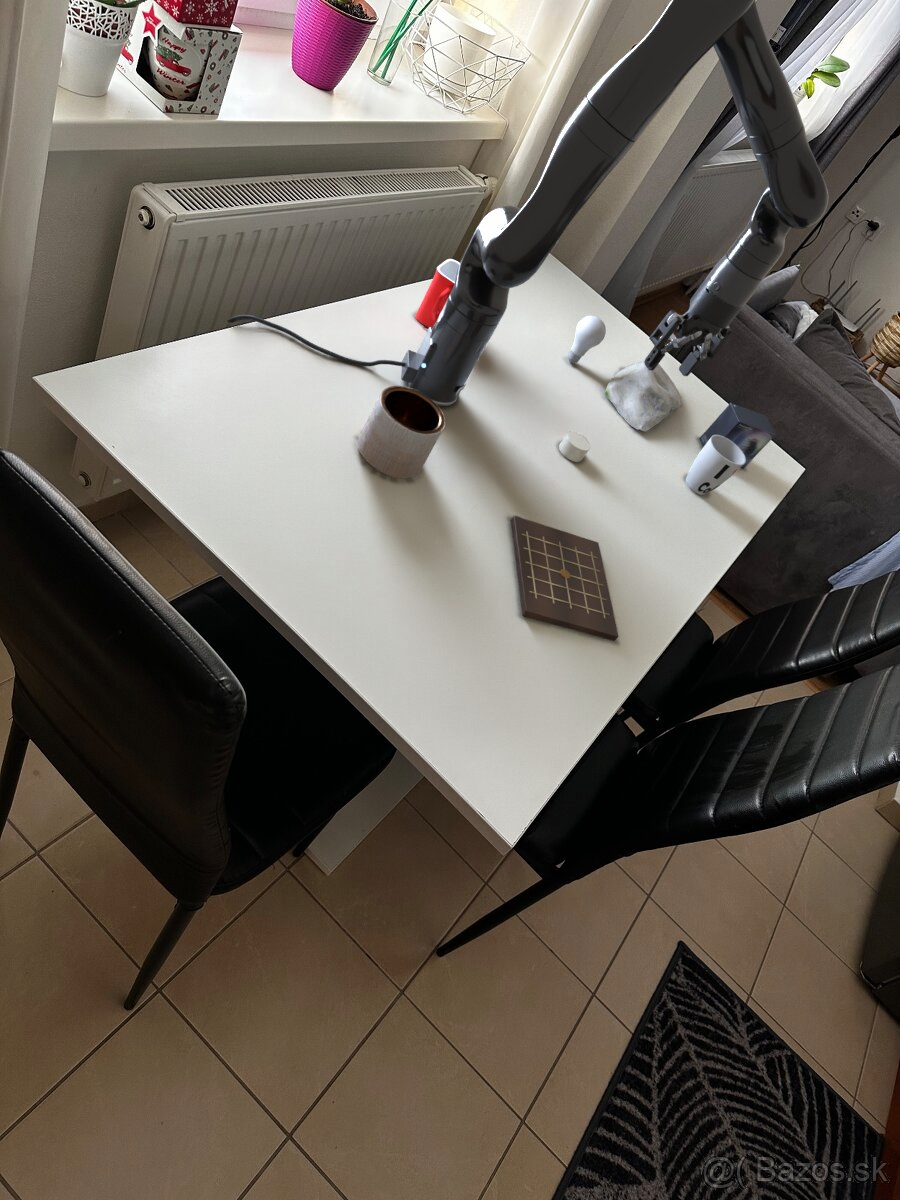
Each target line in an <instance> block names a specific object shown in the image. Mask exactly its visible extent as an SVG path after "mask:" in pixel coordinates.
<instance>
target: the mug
mask: <svg viewBox="0 0 900 1200" xmlns="http://www.w3.org/2000/svg"><path fill="white" fill-rule="evenodd" d="M460 263H461V262H459V261H457V260H455V259H452V258H448V259H446V260H445V261H443V262H442V263H440V264H439V265H438V266H437V267H436V271H435V274H434V276H433V278H432V280H431V282H430V284H429V286H428V288H427V290H426V292H425V295H424V297H423V298H422V300H421V303H420V305H419V307H418V309H417V311H416V314H415V319H416V320H417V321H418V322H419V323H421V325H424V326H425V327H426V328H427V329H429V327H434V325H435V323H436V321H437V319H438V317H439V315H440V313H441V311H442V309H443V307H444V305H445V303H446V301H447V299H448V297H449V295H450V293H451V291H452V289H453V286H454V284H455V279H456V274H457V271H458V268H459V265H460Z"/></svg>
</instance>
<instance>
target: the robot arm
mask: <svg viewBox="0 0 900 1200" xmlns="http://www.w3.org/2000/svg"><path fill="white" fill-rule="evenodd" d="M712 48H713V49H714V52H715V53H716V56H717V57H718V60H719V62H720V65H721V67H722V70H723V73H724V76H725V78H726V81H727V83H728V87H729V89H730V92H731V95H732V99H733V101H734V104H735V108H736V110H737V113H738V116H739V118H740V121H741V125H742V127H743V130H744V133H745V135H746V138H747V140H748V143H749V145H750V148H751V150H752V153H753V156H754V158H755V159H756V161H757V163H758V165H759V167H760V168H761V170H762V172H763V174H764V177H765V180H766V182H767V186H766V188H765V189H764V191H763V192H762V194H761V196H760V198H759V200H758V202H757V204H756V206H755V208H754V209H753V211H752V213H751V216H750V218H749V220H748V222H747V224H746V226H745V227H744V229H743V231H742V232H740V234H739V235H738V236H737V238H736V239H735V240H734V242H733V244H732V245H731V246H730V248H729V249H728V250H727V252H726V253H725V254H724V255H723V256H722V258H721V259H719V260H718V262H717V263H716V264H715V265H714V266H713V268H712V269H711V270H710V272H709V273H708V275H707V276H706V277H705V278H704V279H703V281H702V283H701V284H700V285H699V287H698V288H697V290H696V291H695V293H694V294H693V295H692V296H691V297H690V299H689V308H688V310H687V311H685V313H684V314H678V312H676V310H675V309H671V310H670V311H669V312H667V314H666V315H665V316H664V317H663V319H662V320H661V322H660V323H659V324H658V325H657V327H656V328H655V329H654V331H653V332H652V333H651V334H650V336H649V340H650V342H651V343H652V344H653V348H652V349H651V350H650V352H649V353H648V355H647V356H646V357H645V358H644V361H645V362H644V364H645V366H646V367H647V368H648V370H651V371H653V370H654V369H655V368H656V366H657V365H658V364H659V365H660V363H661V361H662V360H663V359H664V357H665V356H666V354H667V353H668V352H669V351H671V350H672V349H674V348H676V349H678V348H680V347H682V346H684V345H686V346H688V345H691V346H692V347H693V348H692V350H693V351H691V352H690V353H689V354H688V355H687V356H686V357H685V359H684V360H683V361H682V363H681V364H680V365H679V367H678V370H679V373H681V375H682V376H683V377H688V376H690V374H692V373H693V371H694V370H695V369H696V368H697V366H698V365H699V364H700V362H702V361H705V360H706V359H710V360H713V359H714V358H716V356H717V355H718V354H719V352H720V351H721V350H722V348H723V347H724V345H725V344H726V342H728V340H729V339H730V338H731V336H732V334H733V333H734V330H732V328H731V327H730V324H731V323H732V322H733V321H734V319H735V318H736V317H737V316H738V314H739V313H740V312H741V311H742V309H743V308H744V307H745V305H746V304H747V303H748V302H749V300H750V299H751V298H752V296H753V295H754V294H755V293H756V291H757V289H758V288H759V286H760V285H761V283H762V281H763V280H764V279H765V277H766V276H767V274H769V272H770V271H771V270H772V269H773V267H774V266H775V265H776V264H777V262H778V261H779V259H780V258H781V257H782V255H783V253H784V251H785V244H786V237H787V235H788V233H789V232H790V230H791V228H792V229H796V230H804V229H808V228H810V227H812V226H814V225H815V224H816V223H818V222H819V221H820V220H821V219H822V217H823V216H824V215H825V212H826V211H827V208H828V204H829V191H828V190H829V189H828V187H827V184H826V181H825V179H824V176H823V174H822V172H821V169H820V167H819V164H818V162H817V160H816V158H815V156H814V154H813V151H812V149H811V147H810V144H809V140H808V138H807V137H808V136H807V132H806V129H805V125H804V122H803V119H802V116H801V113H800V110H799V108H798V104H797V102H796V98H795V96H794V94H793V91H792V88H791V86H790V84H789V81H788V80H787V77H786V75H785V74H784V73H785V72H784V71H783V69H782V67H781V64H780V63H779V61H778V59H777V56H776V54H775V52H774V51H773V48H772V46H771V44H770V42H769V39H768V36H767V34H766V31H765V29H764V26H763V22H762V19H761V16H760V12H759V10H758V5H757V1H756V0H670V1H669V4H668V5H667V6H666V8H665V10H663V12H662V14H661V15H660V16H659V18H658V19H657V21H656V22H655V24H653V26H652V27H651V29H650V30H649V31H648V32H647V34H645V36H644V37H643V38H642V39H641V40H640V41H639V42H638V43H637V44H636V45H635V46H634V47H633V48H631V49H630V50H629V51H628V52H627V53H625V55H623V56H622V57H621V58H620V59H619V60H618V61H616V62H615V63H614V64H613V65H612V66H611V67H610V68H609V69H608V70H606V72H604V74H602V76H600V77H599V79H597V80H596V82H595V83H594V84H593V85H592V86H591V87H590V89H589V90H588V91H587V92H586V94H585V95H584V97H583V98H582V100H580V102H579V103H578V105H577V106H576V108H575V109H574V110H573V112H572V113H571V114H570V116H568V118H567V120H566V121H565V123H564V124H563V126H562V128H561V130H560V132H559V134H558V136H557V138H556V141H555V143H554V145H553V147H552V149H551V152H550V154H549V156H548V159H547V161H546V164H545V167H544V168H543V169H544V170H543V172H542V174H541V176H540V179H539V181H538V183H537V185H536V187H535V189H534V191H533V192H532V193H531V195H530V196H529V198H528V199H527V201H526V203H525V204H524V205H523V206H522V207H521V208H520V207H518V206H516V205H509V204H508V205H500V206H498V207H496V208H493V209H492V210H490V211H489V212H487V214H486V215H485V216H483V218H482V219H481V221H480V222H479V223H478V225H477V227H476V228H475V231H474V233H473V235H472V236H471V239H470V241H469V243H468V245H467V247H466V249H465V252H464V255H463V257H462V259H461V261H460V262H459V263H460V265H459V268H458V271H457V274H456V279H455V284H454V286H453V289H452V291H451V293H450V295H449V297H448V299H447V301H446V303H445V305H444V307H443V309H442V311H441V313H440V315H439V317H438V319H437V321H436V323H435V325H434V327H429V328H427V331H426V333H425V335H424V337H423V339H422V341H421V343H420V345H419V347H418V349H417V351H416V352H415V351H413V350H411V349H407V350H406V352H405V355H404V357H403V359H402V360H401V361H399V360H398V361H397V360H390V359H378V360H374V361H361V360H357V359H352V358H348V357H346V356H344V355H340V354H338V353H336V352H333V351H330V350H328V349H326V348H324V347H321V346H319V345H317V344H315V343H313V342H311V341H309V340H307V339H306V338H304V337H302V336H301V335H299V334H297V333H295V332H294V331H292V330H290V329H288V328H286V327H284V326H282V325H278V324H276V323H274V322H271V321H268V320H266V319H263V318H261V317H258V316H254V315H251V314H241V315H240V314H239V315H235V316H232V317H230V318H228V319H227V320H226V321H227V322H228V323H230V324H231V323H235V322H239V321H253V322H257V323H259V324H261V325H264V326H266V327H270V328H272V329H275V330H277V331H280V332H283V333H284V334H287V335H289V336H290V337H292V338H294V339H296V340H297V341H299V342H301V343H302V344H304V345H306V346H308V347H309V348H311V349H313V350H316V351H317V352H320V353H323V354H325V355H327V356H330V357H332V358H334V359H337V360H339V361H342V362H345V363H348V364H351V365H355V366H360V367H361V366H362V367H375V366H379V365H390V366H398V367H401V381H404V382H407V387H409V388H412V389H415V390H417V391H419V392H421V393H423V394H424V395H426V396H427V397H429V398H430V399H431V400H433V401H434V402H435V403H436V404H437V405H438V407H450V406H452V405H454V404H455V403H456V401H457V400H458V398H459V396H460V393H461V391H463V390H464V389H465V387H466V385H467V383H466V382H467V380H468V379H469V377H470V375H471V373H472V372H473V370H474V368H475V367H476V365H477V364H478V361H479V359H480V357H481V356H482V355H483V353H484V350H485V349H486V347H487V345H488V343H489V342H490V340H491V338H492V336H493V335H494V332H495V331H496V329H497V328H498V326H499V324H500V322H501V320H502V319H503V317H504V315H505V313H506V311H507V309H508V299H509V294H510V289H513V288H516V287H517V288H518V287H519V286H521V285H523V284H525V283H526V282H528V281H529V280H530V279H532V277H533V276H534V275H535V274H536V273H537V272H538V271H539V270H540V268H541V266H542V265H543V263H544V262H545V261H546V259H547V257H548V256H549V254H550V253H551V251H552V250H553V249H554V247H555V245H556V244H557V243H558V242H559V239H560V238H561V237H562V235H563V233H564V232H565V231H566V229H567V228H568V226H569V225H570V224H571V222H572V221H573V219H574V218H575V217H576V215H577V214H578V213H579V211H581V209H582V208H583V207H584V206H585V204H586V203H587V202H588V201H589V199H590V198H591V197H593V194H594V193H595V192H596V191H597V189H598V188H599V187H600V185H602V183H603V182H604V180H605V179H606V178H607V177H608V176H609V174H610V173H611V172H612V171H613V170H614V169H615V167H617V166H618V164H619V163H620V162H621V161H622V160H623V158H624V157H625V156H626V155H627V154H628V152H629V151H630V150H631V149H632V147H633V146H634V145H635V144H636V142H637V141H638V140H639V139H640V137H641V136H642V134H643V133H644V132H645V130H646V129H647V128H648V126H649V125H650V124H651V122H652V121H653V120H654V119H655V117H656V116H657V115H658V113H659V112H660V111H661V110H662V108H663V107H664V106H665V105H666V103H667V102H668V100H669V99H671V97H672V96H673V94H674V92H675V91H676V90H677V88H678V87H679V85H680V84H681V83H682V82H683V80H684V79H685V77H686V76H687V75H688V74H689V73H690V72H691V71H692V70H693V68H694V67H695V66H696V65H697V64H698V63H699V62H700V61H701V60H702V59H703V57H704V56H705V55H706V54H707V53H708V52H709V51H710V50H711V49H712ZM676 333H677V336H676V335H675V334H676ZM661 334H662V335H661ZM660 335H661V336H660ZM659 336H660V337H659ZM677 337H678V338H677ZM668 341H669V342H668ZM666 342H668V343H666ZM713 345H714V346H713ZM712 347H713V348H712Z"/></svg>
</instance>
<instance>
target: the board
mask: <svg viewBox="0 0 900 1200" xmlns="http://www.w3.org/2000/svg"><path fill="white" fill-rule="evenodd" d="M510 527H511V534H512V542H513V551H514V558H515V567H516V575H517V582H518V590H519V599H520V606H521V614H522V616H523V617H526V618H528V619H529V618H530V619H533V620H537V621H539V622H540V621H541V622H544V623H547V624H552V625H555V626H558V627H562V628H565V629H568V630H569V629H570V630H572V631H577V632H580V633H584V634H587V635H591V636H595V637H597V638H602V639H606V640H609V641H612V642H615V641H616V640H617V639H619V633H618V632H619V631H618V627H617V623H616V617H615V613H614V609H613V603H612V599H611V594H610V590H609V585H608V580H607V575H606V571H605V566H604V561H603V558H602V552H601V548H600V543H599V542H598V541H595V540H592V539H589V538H586V537H583V536H579V535H577V534H573V533H570V532H567V531H564V530H561V529H557V528H555V527H552V526H549V525H546V524H542V523H539V522H536V521H534V520H530V519H527V518H524V517H521V516H517V515H513V516H512V517H511V519H510Z"/></svg>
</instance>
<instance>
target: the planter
mask: <svg viewBox="0 0 900 1200" xmlns="http://www.w3.org/2000/svg"><path fill="white" fill-rule="evenodd" d="M445 427H446V418H445V415H444V412H443V411H442V409H441V408H440V406H438V405H437V404H436V403H435V402H434V401H433V400H431V399H430V398H429V397H427V396H426V395H424V394H423V393H421V392H419V391H417V390H415V389H412V388H409V387H408V386H405V385H391V386H387V387H385V388H384V389H383V390H381V392H380V394H379V396H378V398H377V400H376V402H375V404H374V406H373V408H372V410H371V412H370V414H369V416H368V418H367V420H366V421H365V423H364V426H363V427H362V429H361V432H360V434H359V436H358V441H357V447H358V450H359V452H360V455H361V456H362V458H363V459H364V460H365V461H366V463H368V464H369V466H371V468H374V469H375V470H377V471H378V472H380V473H382V474H383V475H387V476H389V477H393V478H397V479H408V478H409V479H410V478H413V477H415V476H416V475H417V474H419V473H420V472H421V470H422V469H423V467H424V465H425V464H426V462H427V460H428V458H429V457H430V454H431V452H432V451H433V449H434V447H435V446H436V444H437V442H438V440H439V438H440V436H441V434H442V432H443V431H444V429H445Z"/></svg>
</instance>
